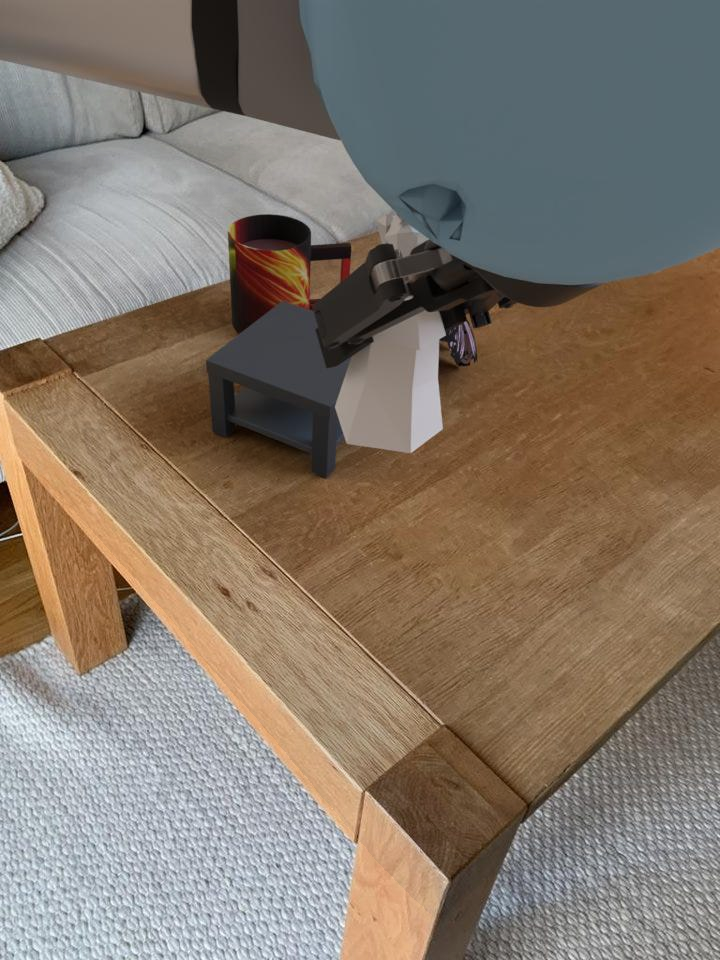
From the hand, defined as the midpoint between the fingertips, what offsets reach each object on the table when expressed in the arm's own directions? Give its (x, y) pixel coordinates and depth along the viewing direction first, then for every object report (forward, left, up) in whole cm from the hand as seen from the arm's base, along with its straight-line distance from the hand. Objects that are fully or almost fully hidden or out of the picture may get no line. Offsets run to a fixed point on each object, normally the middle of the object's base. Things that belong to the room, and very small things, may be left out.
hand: (370, 338), depth 56 cm
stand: (-15, +17, -24) cm, 33 cm away
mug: (-28, +34, -24) cm, 50 cm away
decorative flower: (-9, +33, -24) cm, 42 cm away
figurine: (+3, -2, -5) cm, 6 cm away
